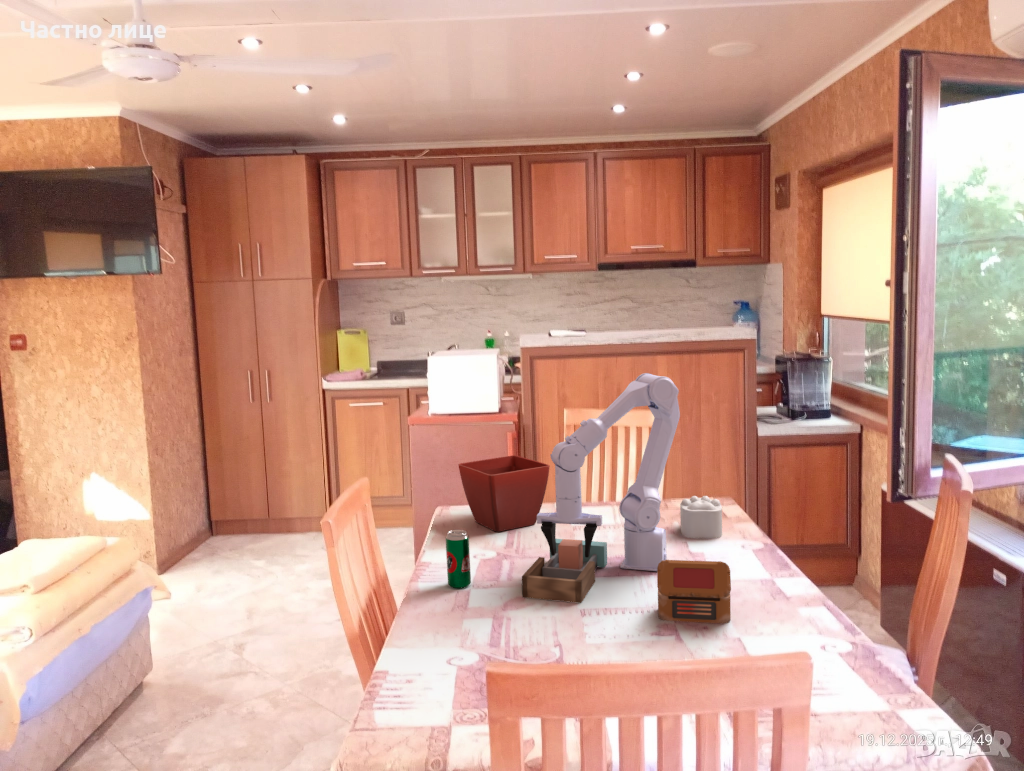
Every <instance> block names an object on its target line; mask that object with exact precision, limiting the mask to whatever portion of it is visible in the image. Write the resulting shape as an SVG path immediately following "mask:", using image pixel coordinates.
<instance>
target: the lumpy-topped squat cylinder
mask: <svg viewBox="0 0 1024 771" xmlns="http://www.w3.org/2000/svg"><path fill="white" fill-rule="evenodd" d="M679 506H680V507H679V508H680V511H679V512H680V513H679V515H680V533H681V536H683V537H684V538H687V539H710V540H714V539H720V538H722V536H723V507H722V504H721V500H719V499H717V498H714V499H711V498H710V497H709V496H708V495H703V496H702V497H698V496H696V495H692V496H691V497H690V498H683V499H682V501H681V502H680V505H679Z"/></svg>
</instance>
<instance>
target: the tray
mask: <svg viewBox="0 0 1024 771" xmlns="http://www.w3.org/2000/svg"><path fill="white" fill-rule="evenodd" d="M563 539H564V538H555V540H556V554H555V555H554V556H552V555H551V551H550V550H549V559H548V561H546V562H545V565H544V566H543V568H542V572H543V577H552V578H563V579H574V580H576V579H577V578H578V576H579V575H580V574H581V572H582V571H583V569H584V568H585V567H586V565H587V564H588V563H589V561H593V562H595V571H596V570H597V568H605V567H606V566H607V565H608V542H605V541H594V540H592V543H591V547H590V555H589V557H585V540H582V545H583V567H582V568H581V570H579V569H567V568H559V552H558V545H559V544H560V542H561V541H562V540H563Z"/></svg>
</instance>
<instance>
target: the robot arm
mask: <svg viewBox="0 0 1024 771" xmlns="http://www.w3.org/2000/svg"><path fill="white" fill-rule="evenodd" d="M679 393H680V390H679V388H678V387H677V385H676V384H675V383H674V381H673V380H672V379H671V378H670V377H668V376H663V375H661V376H660V375H655V374H652V373H650V372H643V373H641V374H640V375H638V376H637V377H636V378H635V380H632V381H631V382H629V383H628V385H627V387H625V389H624V391H622V393H620V395H619V396H618V397H616V399H614V401H613V402H612V403H610V404H609V406H608V407H607V408H606V409H604V411H603V412H602V413H601V414H600V415H598V417H597V418H590V417H589V418H588V419H587V420H585V419H584V420H582V421H581V422H580V423H579V424H580V426H579V427H578V428H576V430H575V431H574V432H573V433H572V434H571V435H567V436H566V437H565V438H564V440H565V441H561V442H559V443H556V445H555V446H553V448H552V451H551V454H550V459H551V461H552V463H553V464H554V471H555V472H554V474H555V475H554V479H555V480H554V481H555V482H554V483H555V484H554V485H555V512H539V513H538V515H537V521H536V524H540V525H541V526H540V529H541V532H542V534H543V536H544V538H545V540H546V542H547V544H548V547H549V552H550V551H551V555H552V556H554V555H555V554H556V540H555V539H556V528H557V526H556V525H557V524H560V525H561V524H563V525H585V526H584V528H583V535H584V536H583V537H584V541H585V557H589V555H590V547H591V543H592V541H593V538H594V536H595V533H596V530H597V529H598V527H602V525H603V515H601V514H593V513H585V512H583V510H582V509H583V504H582V503H583V502H582V501H583V500H582V476H581V468H582V467H583V465H584V463H585V460H586V457H587V456H588V455H589V454H590V453H592V451H594V449H596V448H597V447H598V446H599V445H600V444H601V443H603V442H604V440H606V439H607V437H608V430H609V429H610V428H611V427H612V426H613V425H614V424H616V423H617V422H618V421H620V420H621V419H622V418H623V417H624V416H625V415H627V413H629V412H631V411H632V410H633V409H634V408H636V407H646V406H647V407H648V410H650V412H651V414H652V415H653V422H652V425H651V430H650V432H649V436H648V439H647V442H646V445H645V449H644V452H643V454H642V455H643V456H642V458H641V462H640V465H639V469H638V472H637V475H636V479H635V482H633V484H632V485H630V486H629V487H628V489H627V492H626V495H624V497H623V498H622V499H621V500H620V502H619V512H620V515H621V517H623V519H624V523H623V536H624V537H623V542H624V543H623V545H624V559H623V561H622V562H621V564H620V569H624V570H625V569H626V570H636V571H648V572H649V571H650V572H657V568H658V564H659V563H660V562H661V561H663V560H668V559H667V532H666V529H665V528H662V527H658V524H659V523H660V519H661V508H660V507H661V503H662V500H661V496H660V492H659V488H660V485H661V481H662V479H663V478H662V477H663V474H664V471H665V468H666V465H667V461H668V459H669V455H670V451H671V448H672V445H673V441H674V438H675V434H676V432H677V428H678V424H679V420H680V418H681V412H680V406H679V400H678V395H679Z"/></svg>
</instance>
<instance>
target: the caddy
mask: <svg viewBox="0 0 1024 771" xmlns="http://www.w3.org/2000/svg"><path fill="white" fill-rule="evenodd" d="M545 564H546V560H545V557H544V556H543V557H542V556H541V557H540V556H539V557H538V558H537V559H536V560H535V562H533V564H532V565H531V566H530V567H529V568H528V569H526V571H525V572H524V573H523V574H522V576H521V594H522V598H524V599H525V598H527V599H535V600H547V601H557V602H567V603H576V604H582V603H583V601H585V600H584V599H585V598H586V597H587V595H588V594H589V593H590V591H591V589H592V588H593V585H594V584H595V583H596V570H595V562H593V561H589V563H588V564H587V565H586V567H585V568H584V569H583V571H582V572H581V574H580V575H579V576H578V578H577V579H576V580H574V579H563V578H552V577H543V572H542V568H543V566H544V565H545Z"/></svg>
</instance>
